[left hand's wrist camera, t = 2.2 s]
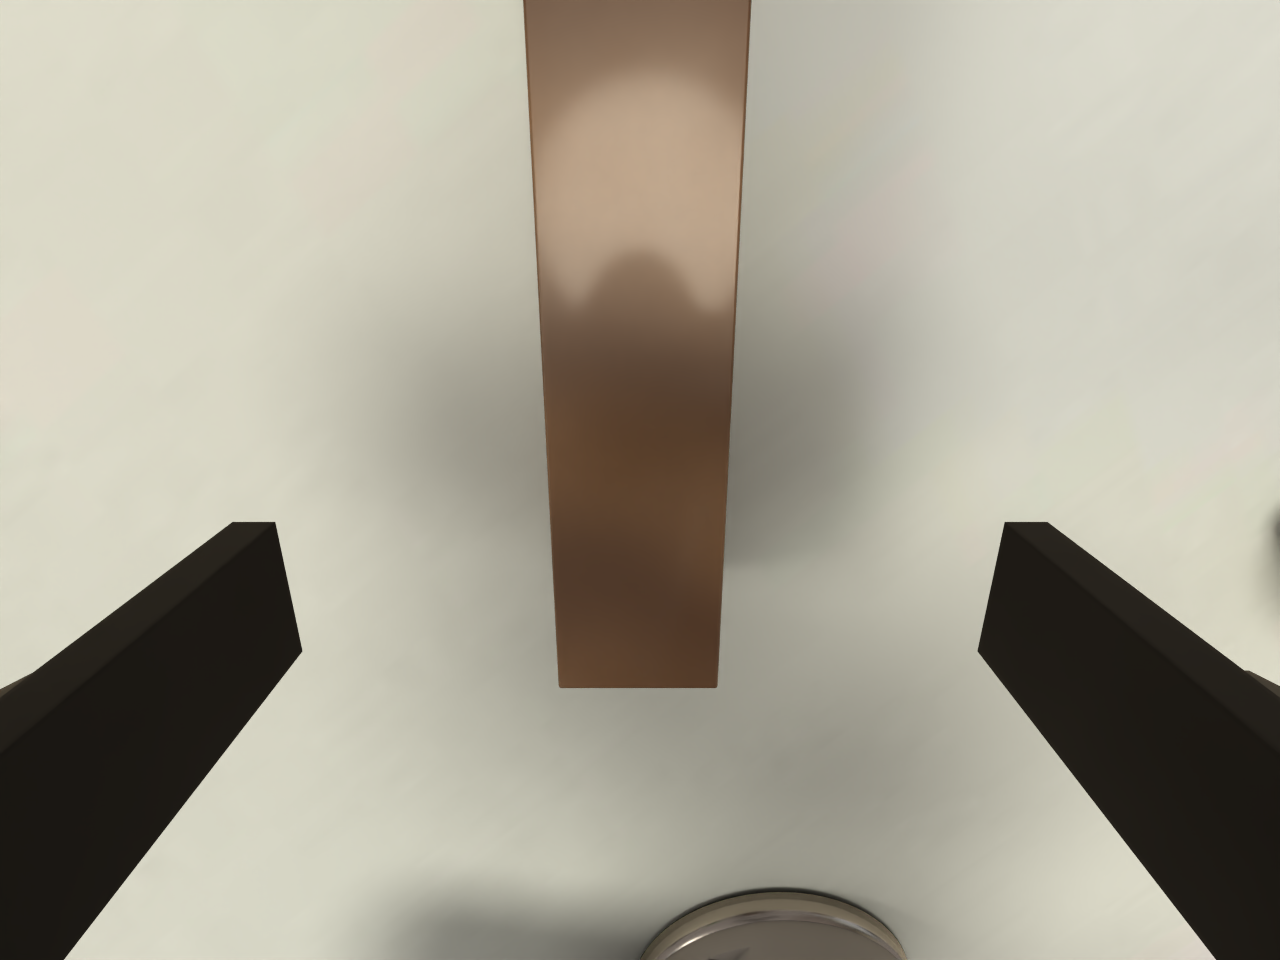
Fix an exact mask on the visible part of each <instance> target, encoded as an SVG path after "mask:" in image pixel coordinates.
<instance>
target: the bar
mask: <svg viewBox="0 0 1280 960" xmlns="http://www.w3.org/2000/svg"><path fill="white" fill-rule="evenodd" d="M523 6H524V25H525V44H526V64H527V83H528V102H529V121H530V141H531V160H532V179H533V199H534V218H535V237H536V256H537V276H538V295H539V314H540V334H541V353H542V372H543V391H544V411H545V430H546V449H547V468H548V488H549V507H550V526H551V546H552V565H553V584H554V603H555V623H556V642H557V661H558V681H559V687H560V688H716V687H717V685H718V665H719V644H720V624H721V604H722V584H723V564H724V543H725V523H726V503H727V483H728V462H729V442H730V422H731V402H732V382H733V361H734V341H735V321H736V301H737V280H738V260H739V240H740V220H741V200H742V179H743V159H744V139H745V119H746V99H747V78H748V58H749V38H750V18H751V0H523Z"/></svg>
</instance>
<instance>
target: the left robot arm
mask: <svg viewBox="0 0 1280 960" xmlns="http://www.w3.org/2000/svg"><path fill="white" fill-rule="evenodd" d="M301 652H302V647H301V642H300V637H299V633H298V628H297V623H296V618H295V614H294V609H293V604H292V599H291V595H290V590H289V585H288V580H287V576H286V571H285V566H284V562H283V557H282V552H281V547H280V543H279V538H278V533H277V528H276V524H275V522H232V523H231V524H229V525H228V526H227V527H225V528H224V529H223V530H221V531H220V532H219V533H217V534H216V535H215V536H214V537H212V538H211V539H210V540H208V541H207V542H206V543H204V544H203V545H202V546H200V547H199V548H198V549H196V550H195V551H194V552H192V553H191V554H190V555H188V556H187V557H186V558H184V559H183V560H182V561H180V562H179V563H178V564H176V565H175V566H174V567H172V568H171V569H170V570H168V571H167V572H166V573H164V574H163V575H162V576H160V577H159V578H158V579H157V580H155V581H154V582H153V583H151V584H150V585H149V586H147V587H146V588H145V589H143V590H142V591H141V592H139V593H138V594H137V595H135V596H134V597H133V598H131V599H130V600H129V601H127V602H126V603H125V604H123V605H122V606H121V607H119V608H118V609H117V610H115V611H114V612H113V613H111V614H110V615H109V616H107V617H106V618H105V619H104V620H102V621H101V622H100V623H98V624H97V625H96V626H94V627H93V628H92V629H90V630H89V631H88V632H86V633H85V634H84V635H82V636H81V637H80V638H78V639H77V640H76V641H74V642H73V643H72V644H70V645H69V646H68V647H66V648H65V649H64V650H62V651H61V652H60V653H58V654H57V655H56V656H54V657H53V658H52V659H50V660H49V661H48V662H47V663H45V664H44V665H43V666H41V667H40V668H39V669H37V670H36V671H35V672H33V673H31V674H29V675H27V676H25V677H23V678H22V679H20V680H18V681H16V682H14V683H12V684H10V685H8V686H6V687H4V688H2V689H0V960H64V959H65V958H66V956H67V955H68V954H69V952H70V951H71V950H72V949H73V947H74V946H75V945H76V943H77V942H78V941H79V939H80V938H81V937H82V936H83V934H84V933H85V932H86V930H87V929H88V928H89V927H90V925H91V924H92V923H93V921H94V920H95V919H96V917H97V916H98V915H99V914H100V912H101V911H102V910H103V908H104V907H105V906H106V905H107V903H108V902H109V901H110V899H111V898H112V897H113V895H114V894H115V893H116V892H117V890H118V889H119V888H120V886H121V885H122V884H123V883H124V881H125V880H126V879H127V877H128V876H129V875H130V874H131V872H132V871H133V870H134V868H135V867H136V866H137V864H138V863H139V862H140V861H141V859H142V858H143V857H144V855H145V854H146V853H147V852H148V850H149V849H150V848H151V846H152V845H153V844H154V842H155V841H156V840H157V839H158V837H159V836H160V835H161V833H162V832H163V831H164V830H165V828H166V827H167V826H168V824H169V823H170V822H171V820H172V819H173V818H174V817H175V815H176V814H177V813H178V811H179V810H180V809H181V808H182V806H183V805H184V804H185V802H186V801H187V800H188V799H189V797H190V796H191V795H192V793H193V792H194V791H195V789H196V788H197V787H198V786H199V784H200V783H201V782H202V780H203V779H204V778H205V777H206V775H207V774H208V773H209V771H210V770H211V769H212V767H213V766H214V765H215V764H216V762H217V761H218V760H219V758H220V757H221V756H222V755H223V753H224V752H225V751H226V749H227V748H228V747H229V746H230V744H231V743H232V742H233V740H234V739H235V738H236V736H237V735H238V734H239V733H240V731H241V730H242V729H243V727H244V726H245V725H246V724H247V722H248V721H249V720H250V718H251V717H252V716H253V714H254V713H255V712H256V711H257V709H258V708H259V707H260V705H261V704H262V703H263V702H264V700H265V699H266V698H267V696H268V695H269V694H270V692H271V691H272V690H273V689H274V687H275V686H276V685H277V683H278V682H279V681H280V680H281V678H282V677H283V676H284V674H285V673H286V672H287V671H288V669H289V668H290V667H291V665H292V664H293V663H294V661H295V660H296V659H297V658H298V656H299V655H300V654H301ZM978 652H979V654H980V655H981V656H982V658H983V659H984V660H985V661H986V663H987V664H988V665H989V667H990V668H991V669H992V671H993V672H994V673H995V674H996V676H997V677H998V678H999V680H1000V681H1001V682H1002V683H1003V685H1004V686H1005V687H1006V689H1007V690H1008V691H1009V692H1010V694H1011V695H1012V696H1013V698H1014V699H1015V700H1016V702H1017V703H1018V704H1019V705H1020V707H1021V708H1022V709H1023V711H1024V712H1025V713H1026V714H1027V716H1028V717H1029V718H1030V720H1031V721H1032V722H1033V724H1034V725H1035V726H1036V727H1037V729H1038V730H1039V731H1040V733H1041V734H1042V735H1043V736H1044V738H1045V739H1046V740H1047V742H1048V743H1049V744H1050V746H1051V747H1052V748H1053V749H1054V751H1055V752H1056V753H1057V755H1058V756H1059V757H1060V758H1061V760H1062V761H1063V762H1064V764H1065V765H1066V766H1067V767H1068V769H1069V770H1070V771H1071V773H1072V774H1073V775H1074V777H1075V778H1076V779H1077V780H1078V782H1079V783H1080V784H1081V786H1082V787H1083V788H1084V789H1085V791H1086V792H1087V793H1088V795H1089V796H1090V797H1091V799H1092V800H1093V801H1094V802H1095V804H1096V805H1097V806H1098V808H1099V809H1100V810H1101V811H1102V813H1103V814H1104V815H1105V817H1106V818H1107V819H1108V820H1109V822H1110V823H1111V824H1112V826H1113V827H1114V828H1115V830H1116V831H1117V832H1118V833H1119V835H1120V836H1121V837H1122V839H1123V840H1124V841H1125V842H1126V844H1127V845H1128V846H1129V848H1130V849H1131V850H1132V852H1133V853H1134V854H1135V855H1136V857H1137V858H1138V859H1139V861H1140V862H1141V863H1142V864H1143V866H1144V867H1145V868H1146V870H1147V871H1148V872H1149V874H1150V875H1151V876H1152V877H1153V879H1154V880H1155V881H1156V883H1157V884H1158V885H1159V886H1160V888H1161V889H1162V890H1163V892H1164V893H1165V894H1166V895H1167V897H1168V898H1169V899H1170V901H1171V902H1172V903H1173V905H1174V906H1175V907H1176V908H1177V910H1178V911H1179V912H1180V914H1181V915H1182V916H1183V917H1184V919H1185V920H1186V921H1187V923H1188V924H1189V925H1190V927H1191V928H1192V929H1193V930H1194V932H1195V933H1196V934H1197V936H1198V937H1199V938H1200V939H1201V941H1202V942H1203V943H1204V945H1205V946H1206V947H1207V949H1208V950H1209V951H1210V952H1211V954H1212V955H1213V956H1214V958H1215V959H1216V960H1280V686H1278V685H1276V684H1274V683H1272V682H1270V681H1268V680H1266V679H1264V678H1262V677H1260V676H1259V675H1257V674H1255V673H1253V672H1251V671H1244V670H1243V669H1241V668H1240V667H1239V666H1237V665H1236V664H1235V663H1233V662H1232V661H1231V660H1230V659H1228V658H1227V657H1226V656H1224V655H1223V654H1222V653H1220V652H1219V651H1218V650H1216V649H1215V648H1214V647H1212V646H1211V645H1210V644H1208V643H1207V642H1206V641H1204V640H1203V639H1202V638H1200V637H1199V636H1198V635H1196V634H1195V633H1194V632H1192V631H1191V630H1190V629H1188V628H1187V627H1186V626H1184V625H1183V624H1182V623H1180V622H1179V621H1178V620H1176V619H1175V618H1174V617H1173V616H1171V615H1170V614H1169V613H1167V612H1166V611H1165V610H1163V609H1162V608H1161V607H1159V606H1158V605H1157V604H1155V603H1154V602H1153V601H1151V600H1150V599H1149V598H1147V597H1146V596H1145V595H1143V594H1142V593H1141V592H1139V591H1138V590H1137V589H1135V588H1134V587H1133V586H1131V585H1130V584H1129V583H1127V582H1126V581H1125V580H1123V579H1122V578H1121V577H1120V576H1118V575H1117V574H1116V573H1114V572H1113V571H1112V570H1110V569H1109V568H1108V567H1106V566H1105V565H1104V564H1102V563H1101V562H1100V561H1098V560H1097V559H1096V558H1094V557H1093V556H1092V555H1090V554H1089V553H1088V552H1086V551H1085V550H1084V549H1082V548H1081V547H1080V546H1078V545H1077V544H1076V543H1074V542H1073V541H1072V540H1070V539H1069V538H1068V537H1066V536H1065V535H1064V534H1063V533H1061V532H1060V531H1059V530H1057V529H1056V528H1055V527H1053V526H1052V525H1051V524H1049V523H1048V522H1005V524H1004V528H1003V533H1002V538H1001V543H1000V547H999V552H998V557H997V562H996V566H995V571H994V576H993V580H992V585H991V590H990V595H989V599H988V604H987V609H986V614H985V618H984V623H983V628H982V633H981V637H980V642H979V647H978ZM640 960H907V958H906V955H905V953H904V951H903V949H902V947H901V945H900V944H899V942H898V941H897V939H896V938H895V937H894V936H893V934H892V933H891V932H890V931H889V930H888V929H887V928H886V927H885V926H884V925H883V924H882V923H880V922H879V921H878V920H876V919H875V918H873V917H872V916H870V915H869V914H867V913H865V912H864V911H862V910H860V909H858V908H856V907H853V906H851V905H849V904H846V903H843V902H841V901H838V900H834V899H831V898H827V897H823V896H817V895H812V894H804V893H794V892H766V893H756V894H749V895H743V896H737V897H733V898H729V899H725V900H722V901H719V902H715V903H712V904H710V905H707V906H705V907H702V908H700V909H698V910H696V911H694V912H691V913H689V914H687V915H686V916H684V917H682V918H681V919H679V920H677V921H676V922H674V923H673V924H672V925H670V926H669V927H668V928H666V929H665V930H664V931H663V932H662V933H661V934H660V935H658V936H657V937H656V938H655V940H654V941H653V942H652V943H651V944H650V945H649V947H648V948H647V949H646V951H645V952H644V954H643V955H642V957H641V959H640Z"/></svg>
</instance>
